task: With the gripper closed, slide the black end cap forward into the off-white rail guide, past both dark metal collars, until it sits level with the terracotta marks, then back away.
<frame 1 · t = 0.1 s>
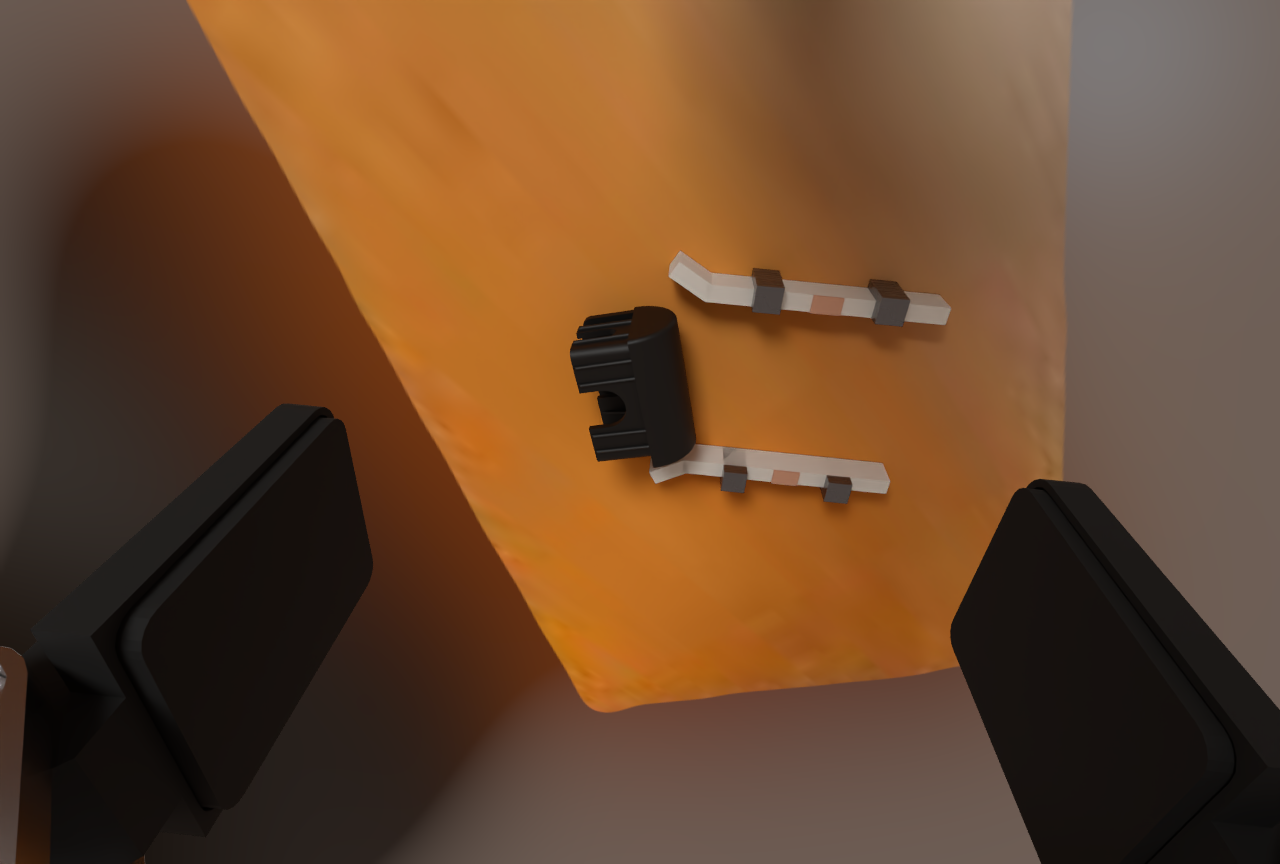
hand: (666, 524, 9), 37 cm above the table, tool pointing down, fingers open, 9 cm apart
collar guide: (799, 381, 49), on the table
end cap: (641, 364, 49), on the table
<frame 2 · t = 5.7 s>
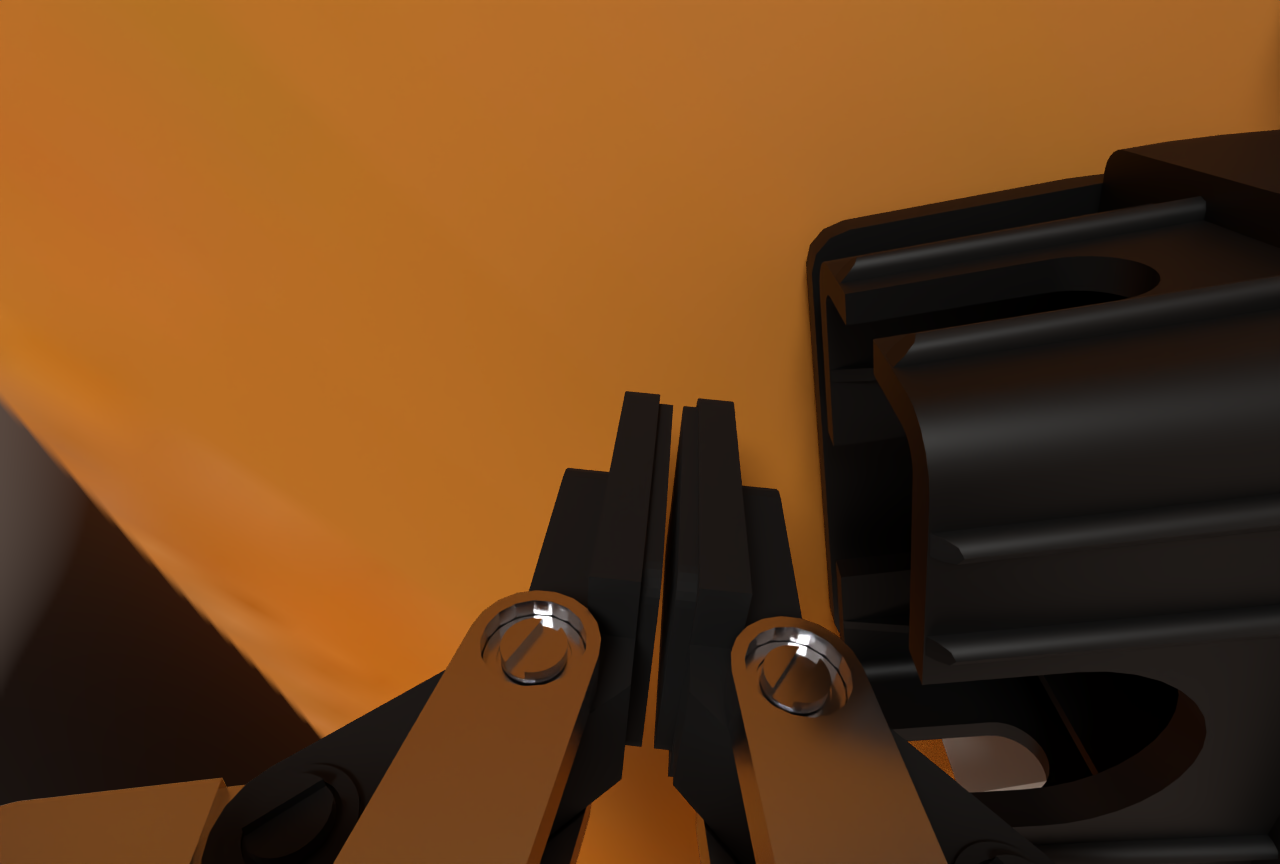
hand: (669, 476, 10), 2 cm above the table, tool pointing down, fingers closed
end cap: (1009, 426, 12), on the table, touching gripper
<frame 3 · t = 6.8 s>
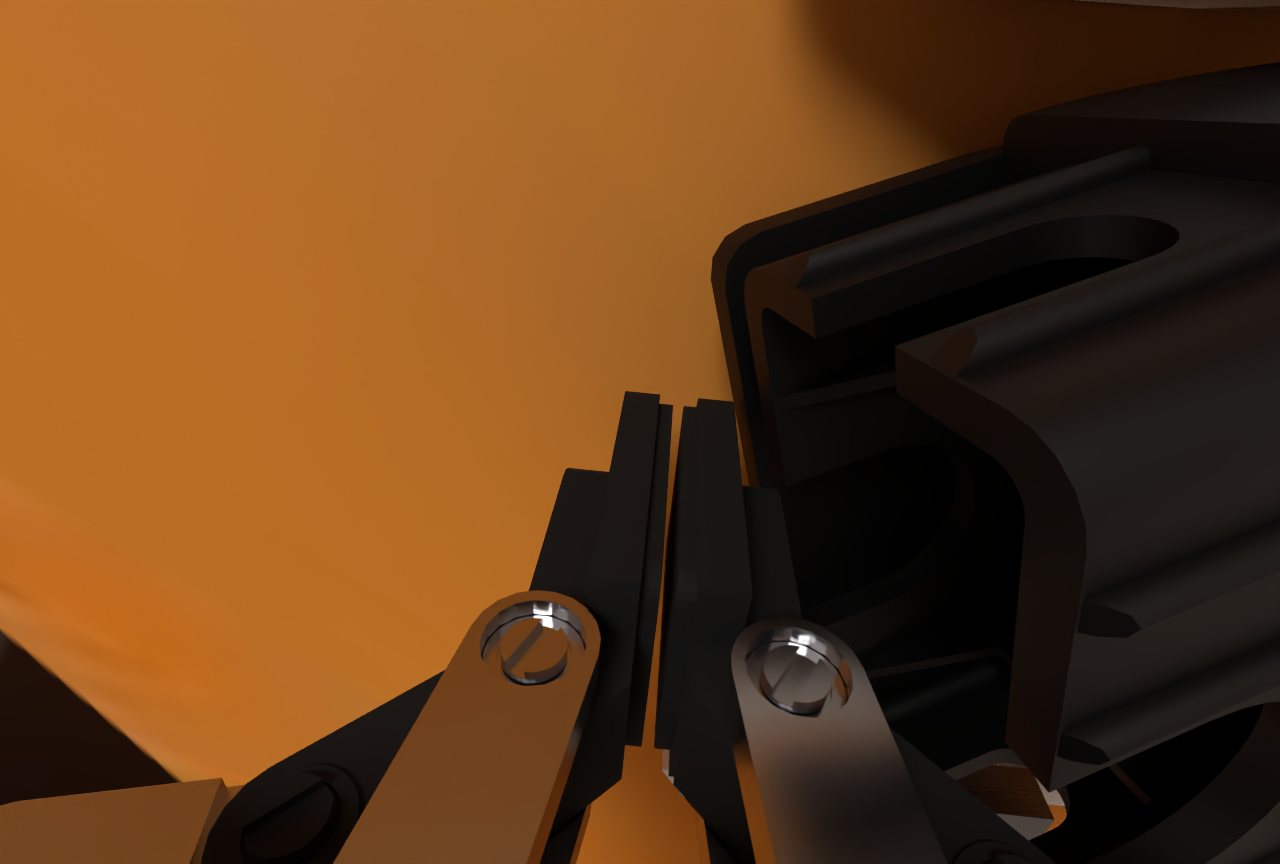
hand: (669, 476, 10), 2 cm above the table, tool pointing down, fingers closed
end cap: (930, 426, 11), point 1 cm above the table
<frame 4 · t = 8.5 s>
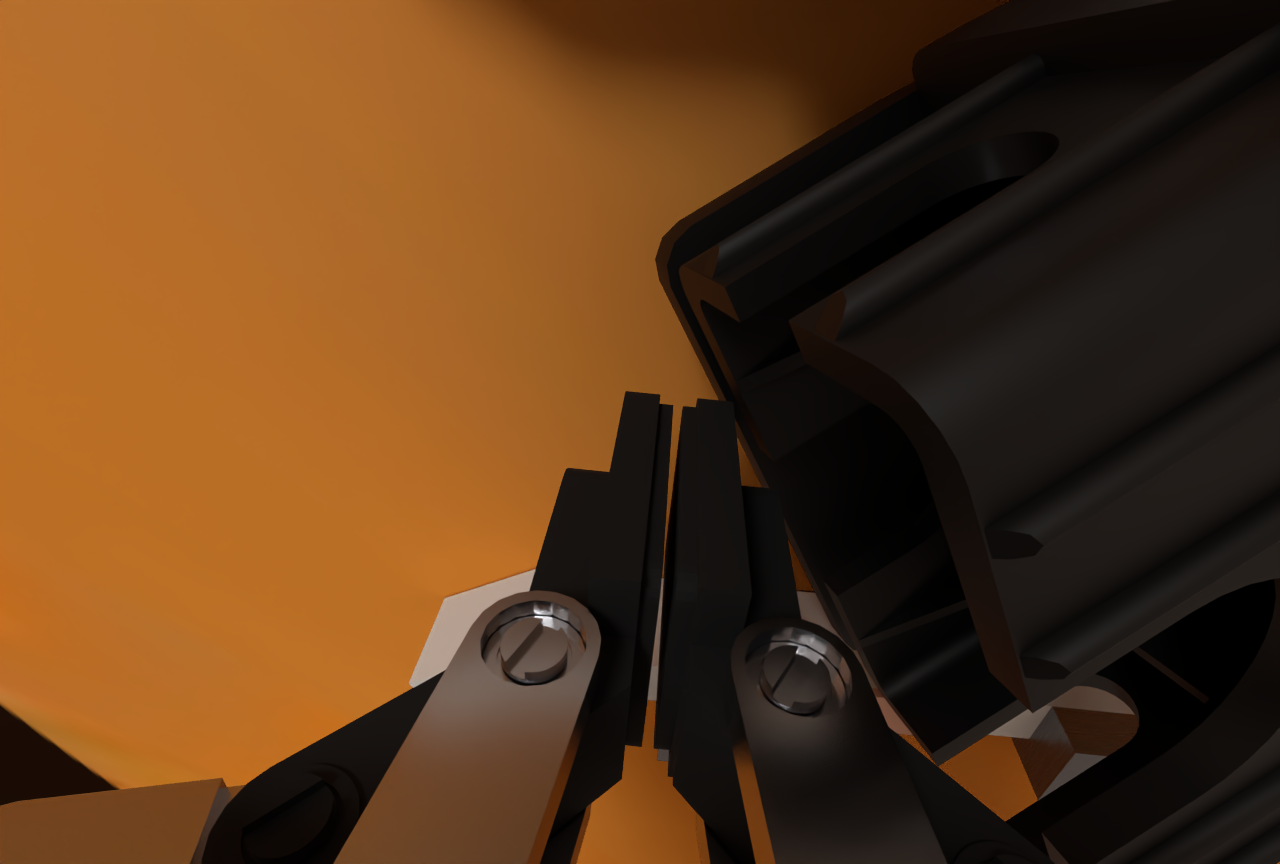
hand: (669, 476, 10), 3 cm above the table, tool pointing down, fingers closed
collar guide: (966, 356, 12), on the table
end cap: (924, 368, 11), point 1 cm above the table, touching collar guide, gripper
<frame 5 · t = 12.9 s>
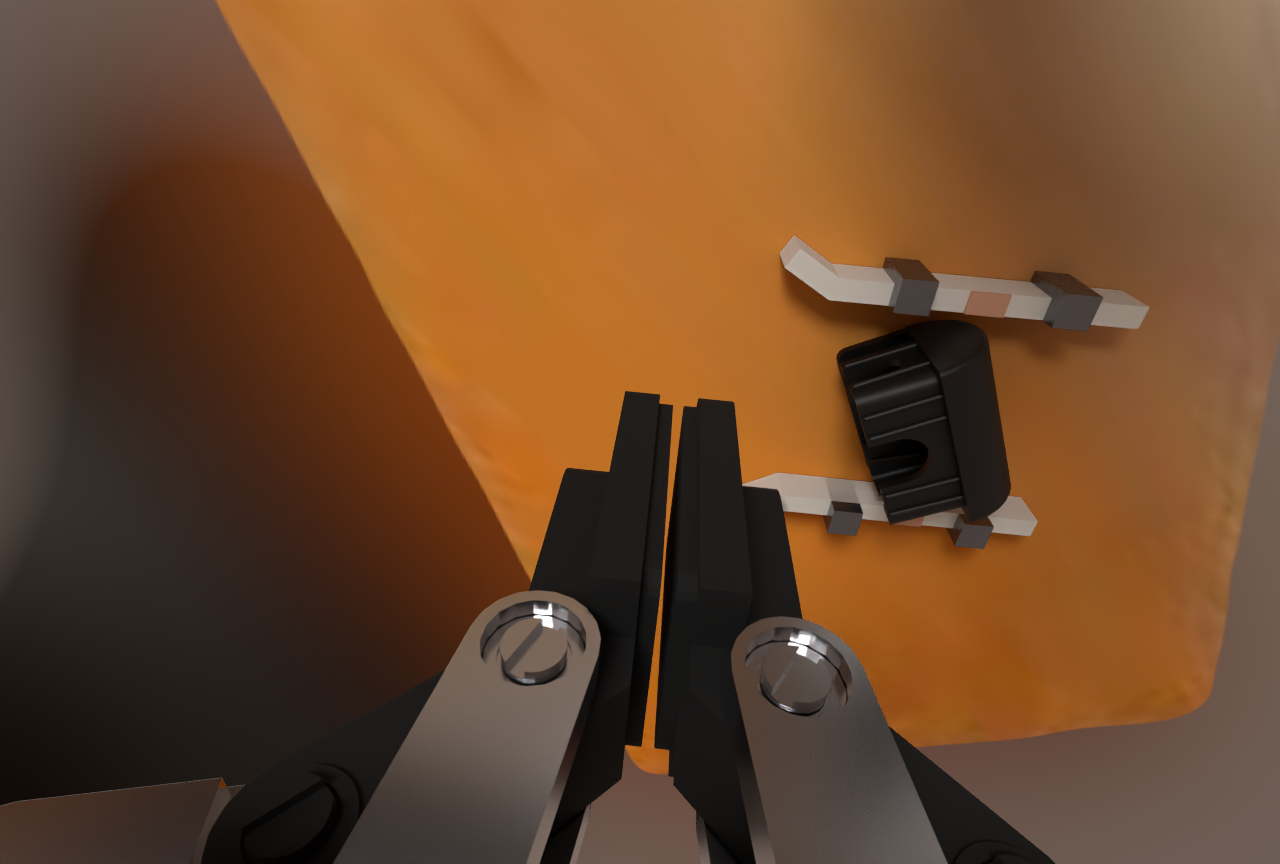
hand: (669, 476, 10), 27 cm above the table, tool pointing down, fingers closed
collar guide: (929, 399, 39), on the table
end cap: (909, 393, 39), on the table
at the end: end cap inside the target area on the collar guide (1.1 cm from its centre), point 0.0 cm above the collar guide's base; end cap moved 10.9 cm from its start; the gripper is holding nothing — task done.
